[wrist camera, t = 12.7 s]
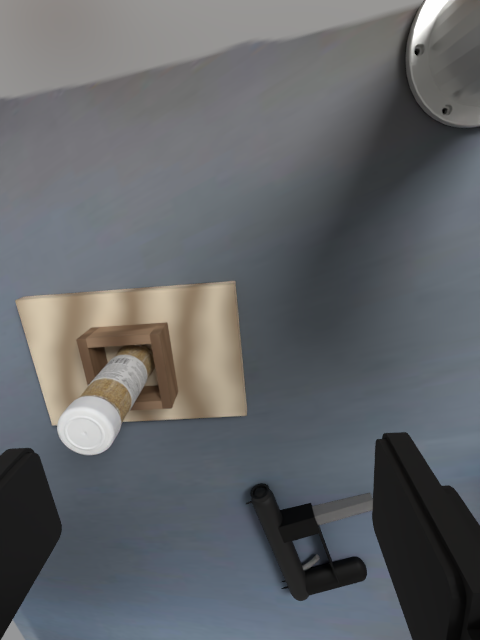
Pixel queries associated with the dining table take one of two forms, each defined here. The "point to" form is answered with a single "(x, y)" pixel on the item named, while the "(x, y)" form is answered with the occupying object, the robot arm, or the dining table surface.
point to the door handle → (302, 524)
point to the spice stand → (150, 330)
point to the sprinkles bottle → (106, 401)
